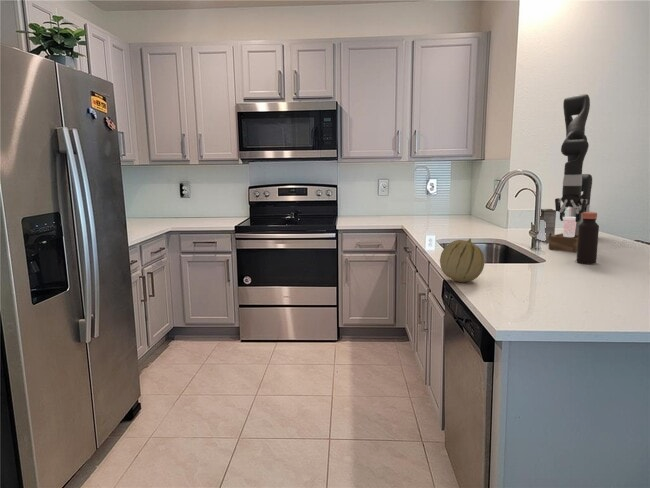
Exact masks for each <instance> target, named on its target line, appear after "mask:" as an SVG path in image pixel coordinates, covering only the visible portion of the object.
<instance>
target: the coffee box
mask: <svg viewBox="0 0 650 488" xmlns="http://www.w3.org/2000/svg"><path fill="white" fill-rule="evenodd" d="M540 209H541V216H540V220H544V221H545V222H546V228H545V233H546V240H545V241H544V242H546V243H549V236H552V235H556V234H555V232H556V218H557V211H556V209H553V208H540Z"/></svg>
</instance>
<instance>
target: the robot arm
mask: <svg viewBox="0 0 650 488" xmlns="http://www.w3.org/2000/svg"><path fill="white" fill-rule="evenodd" d="M562 108H563V114H564V115H563V116H564V123H565V139H564V140H563V142H562V145H561V146H560V147H561V148H560V152H561V155H563V156H565V157H567V161H566V162H565V164H564V169H563V170H564V172H563V179H562V191H561V192H562V197H560V198H555V199H554V204H555V205H554V207H555V211H556V212H559V220H560V221H561V222H563V217H566V212H565V211H567V209H568V208H570V207H571V217H576V229H575V235H578V232H579V225H580V224H581V223H582V222H583V218H582V214H583V212H590V207H591V205H590V204H591V196H592V194H591V193H592V189H593V188H592V187H593V177H592V175H591V174H589V173H583V165H584V162H585V161H584V160H585V158H586V155H587V154H588V153H587V152H588V150H589V142H588V138H587V136H586V133H585V131H586V123H587V120H588V117H589V113H590V109H591V99H590V96H589V95H588V94H586V93H585V94H583V93H582V94H577V95H572V96H566V97H565V98H564V100H563V107H562ZM573 116H576V117H575V118H573ZM561 203H562V205H561ZM568 217H570V209H569V211H568Z"/></svg>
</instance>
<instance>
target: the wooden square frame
mask: <svg viewBox="0 0 650 488" xmlns="http://www.w3.org/2000/svg"><path fill="white" fill-rule="evenodd" d="M577 246H578V235H575V236H574V237H563V232H562V233H557V234H555V235H552V236H549V242H548V250H556V251H562V252H571V253H577Z"/></svg>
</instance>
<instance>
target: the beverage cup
mask: <svg viewBox="0 0 650 488" xmlns="http://www.w3.org/2000/svg"><path fill="white" fill-rule="evenodd" d="M569 210H570V217H569V216H565V217H563V221H562V224H563V225H562V230H563V231H562V233H563V237H574V236H575V229H576V217H571V207H569Z"/></svg>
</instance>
